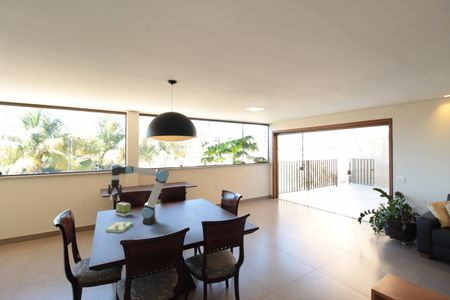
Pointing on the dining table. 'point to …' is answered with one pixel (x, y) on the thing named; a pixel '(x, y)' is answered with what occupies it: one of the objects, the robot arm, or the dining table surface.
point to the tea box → (123, 209)
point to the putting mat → (119, 227)
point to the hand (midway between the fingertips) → (114, 200)
